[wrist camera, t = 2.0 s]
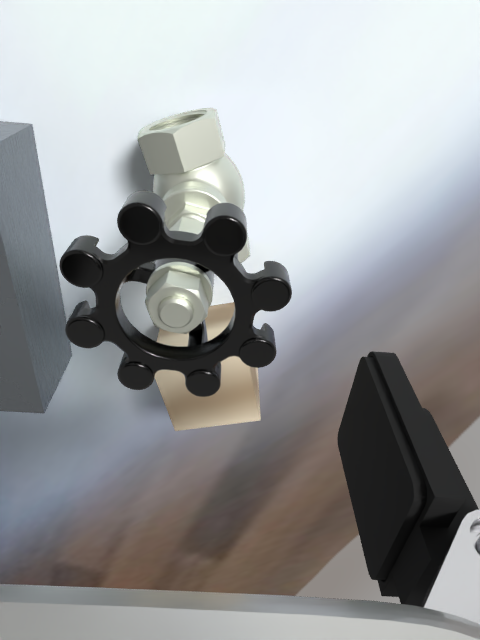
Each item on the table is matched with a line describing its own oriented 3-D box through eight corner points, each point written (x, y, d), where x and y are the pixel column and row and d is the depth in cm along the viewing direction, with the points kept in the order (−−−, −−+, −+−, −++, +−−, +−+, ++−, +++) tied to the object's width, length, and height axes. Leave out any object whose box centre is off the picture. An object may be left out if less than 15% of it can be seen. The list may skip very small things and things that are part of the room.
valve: (161, 252, 24) (111, 414, 15) (115, 129, 21) (5, 234, 11) (278, 226, 24) (309, 379, 14) (251, 92, 20) (267, 170, 10)
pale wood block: (163, 312, 27) (150, 366, 23) (244, 300, 26) (245, 352, 22) (183, 373, 30) (175, 430, 25) (257, 362, 29) (260, 420, 25)
